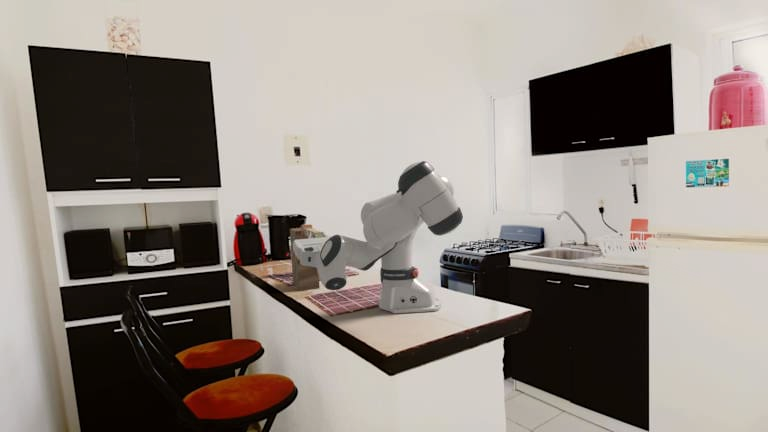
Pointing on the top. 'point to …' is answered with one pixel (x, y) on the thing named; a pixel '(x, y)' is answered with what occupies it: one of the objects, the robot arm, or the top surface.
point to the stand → (302, 267)
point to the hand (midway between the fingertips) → (316, 233)
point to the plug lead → (310, 231)
